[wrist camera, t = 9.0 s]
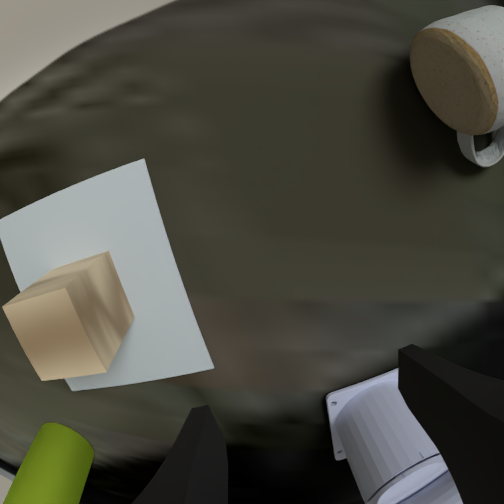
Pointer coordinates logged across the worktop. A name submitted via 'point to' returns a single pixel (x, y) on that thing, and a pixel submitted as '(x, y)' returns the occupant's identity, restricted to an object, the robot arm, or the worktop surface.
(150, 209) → the blue-grey mat
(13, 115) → the worktop surface
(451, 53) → the ceramic mug
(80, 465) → the soap dispenser
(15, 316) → the maple block
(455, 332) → the worktop surface
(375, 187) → the worktop surface
